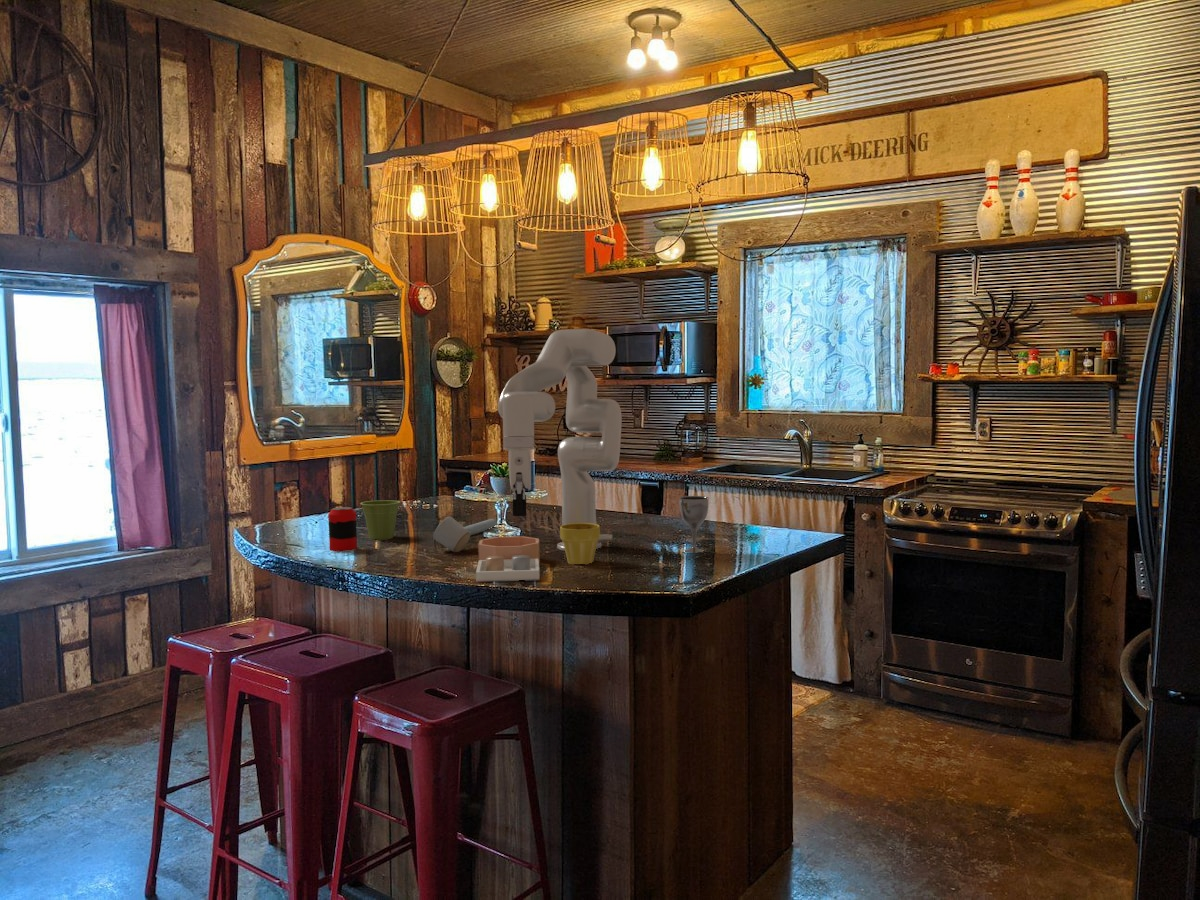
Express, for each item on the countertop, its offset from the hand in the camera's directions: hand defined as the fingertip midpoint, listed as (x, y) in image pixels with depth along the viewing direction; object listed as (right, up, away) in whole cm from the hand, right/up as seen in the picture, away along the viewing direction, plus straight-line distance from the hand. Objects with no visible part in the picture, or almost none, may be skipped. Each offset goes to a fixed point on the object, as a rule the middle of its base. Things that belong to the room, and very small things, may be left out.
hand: (519, 513), depth 230 cm
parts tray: (-3, -15, +1) cm, 16 cm away
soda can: (-54, -13, +38) cm, 67 cm away
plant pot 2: (+14, -14, +16) cm, 26 cm away
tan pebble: (-6, -15, +1) cm, 16 cm away
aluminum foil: (-21, -11, +66) cm, 70 cm away
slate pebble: (0, -15, +1) cm, 15 cm away
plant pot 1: (-47, -12, +57) cm, 75 cm away
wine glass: (+46, -13, +29) cm, 55 cm away
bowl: (-4, -14, +18) cm, 23 cm away
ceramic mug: (-21, -13, +35) cm, 43 cm away
